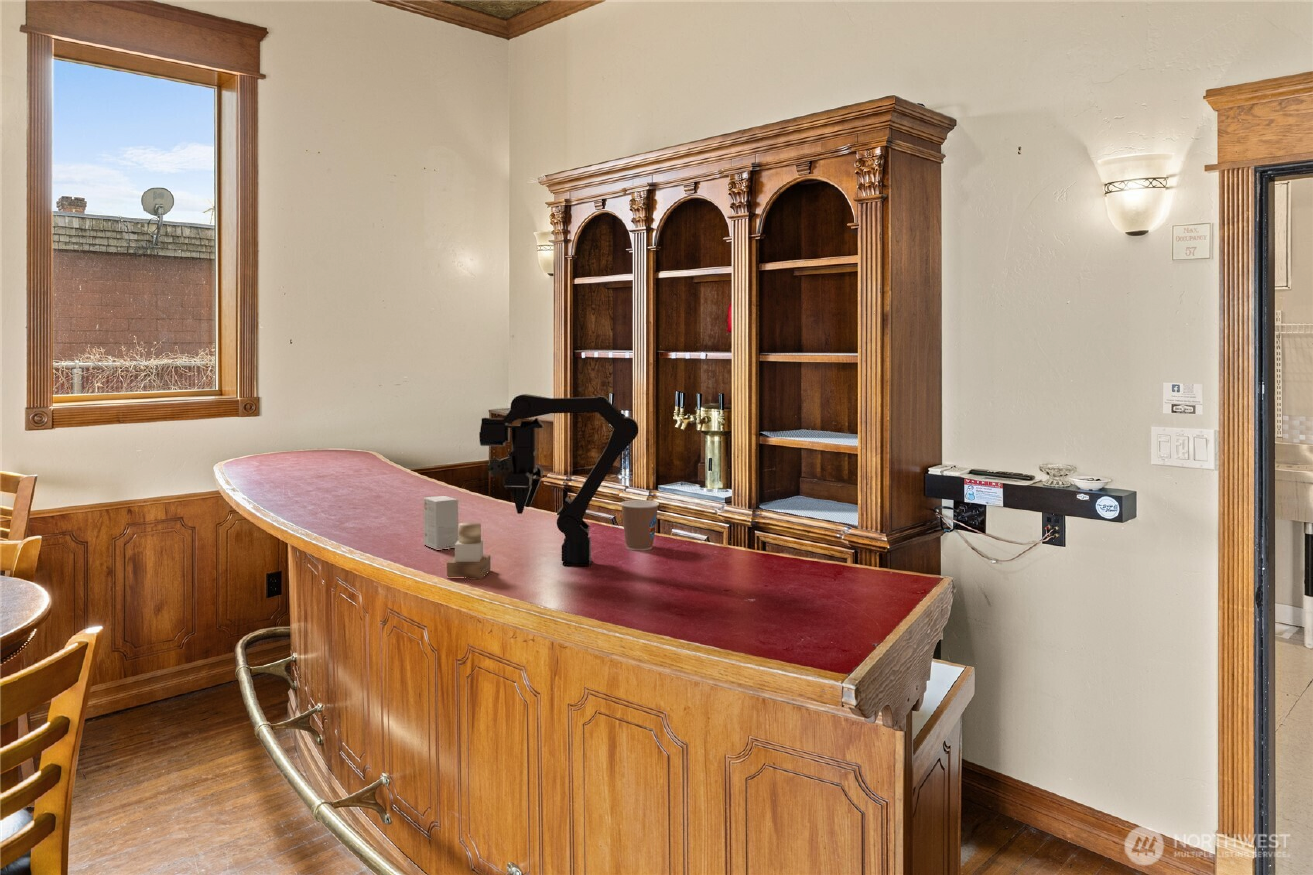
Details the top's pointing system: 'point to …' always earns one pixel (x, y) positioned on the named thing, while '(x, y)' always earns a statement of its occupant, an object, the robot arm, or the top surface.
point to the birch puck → (469, 532)
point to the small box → (440, 522)
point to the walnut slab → (468, 568)
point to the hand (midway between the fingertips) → (523, 510)
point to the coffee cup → (639, 523)
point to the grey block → (468, 552)
